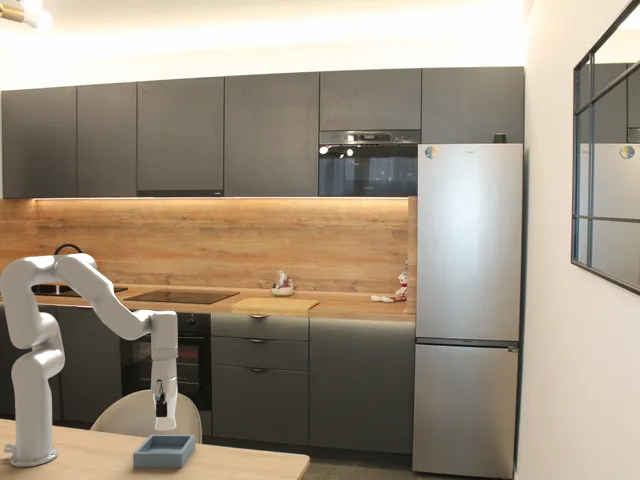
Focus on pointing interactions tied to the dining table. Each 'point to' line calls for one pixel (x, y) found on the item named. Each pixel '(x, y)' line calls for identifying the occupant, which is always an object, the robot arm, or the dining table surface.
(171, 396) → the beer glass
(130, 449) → the dining table surface
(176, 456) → the tray
